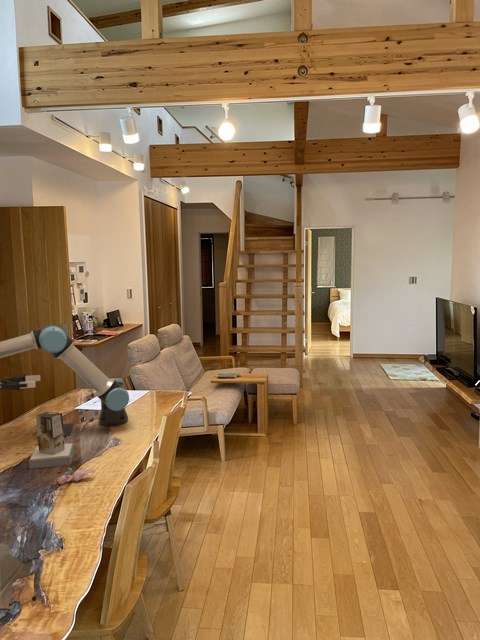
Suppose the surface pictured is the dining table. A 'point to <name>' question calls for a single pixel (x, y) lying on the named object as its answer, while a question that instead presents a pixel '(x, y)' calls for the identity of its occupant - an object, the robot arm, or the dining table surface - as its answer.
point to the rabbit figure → (76, 476)
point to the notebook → (68, 430)
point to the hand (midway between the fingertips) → (37, 380)
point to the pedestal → (51, 458)
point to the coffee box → (50, 432)
